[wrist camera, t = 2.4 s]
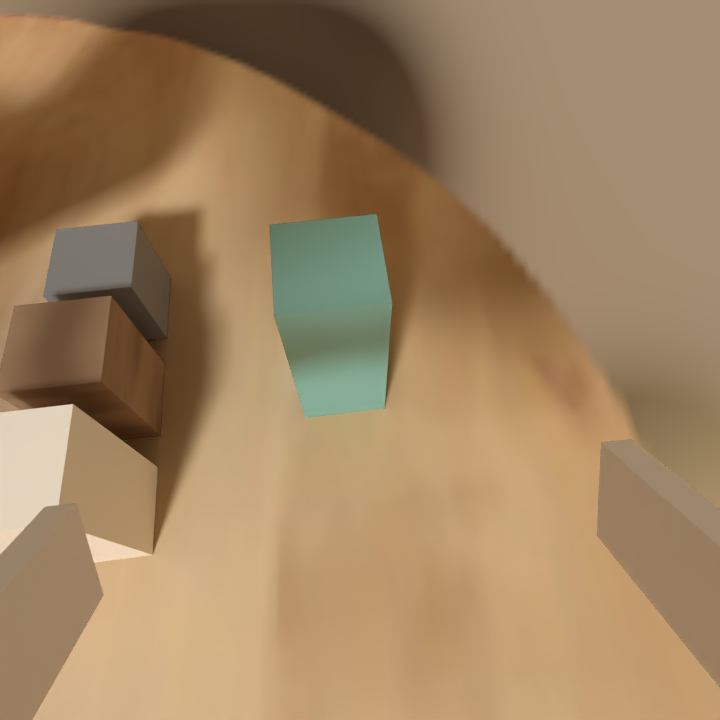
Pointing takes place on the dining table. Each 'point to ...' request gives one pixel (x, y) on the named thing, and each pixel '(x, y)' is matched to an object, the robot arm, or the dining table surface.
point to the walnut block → (84, 364)
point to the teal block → (333, 311)
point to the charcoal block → (112, 273)
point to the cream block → (76, 479)
